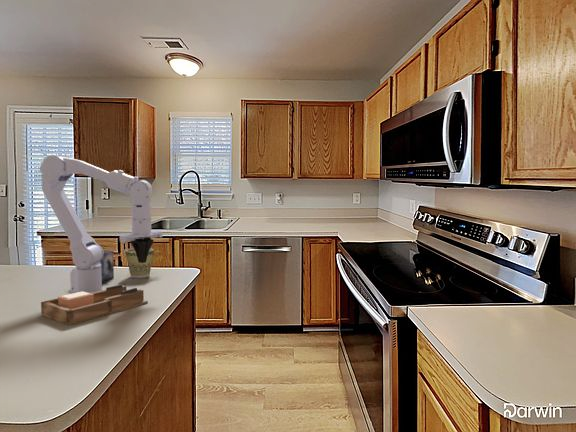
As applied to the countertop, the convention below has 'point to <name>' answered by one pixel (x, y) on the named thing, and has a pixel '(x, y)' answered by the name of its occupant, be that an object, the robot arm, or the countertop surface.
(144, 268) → the ceramic cup
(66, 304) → the block
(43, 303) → the wooden tray
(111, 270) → the small box
